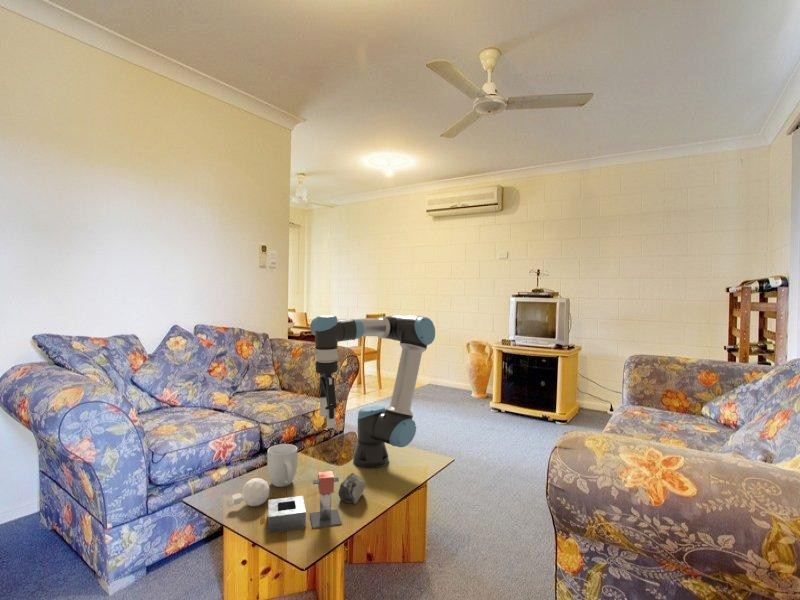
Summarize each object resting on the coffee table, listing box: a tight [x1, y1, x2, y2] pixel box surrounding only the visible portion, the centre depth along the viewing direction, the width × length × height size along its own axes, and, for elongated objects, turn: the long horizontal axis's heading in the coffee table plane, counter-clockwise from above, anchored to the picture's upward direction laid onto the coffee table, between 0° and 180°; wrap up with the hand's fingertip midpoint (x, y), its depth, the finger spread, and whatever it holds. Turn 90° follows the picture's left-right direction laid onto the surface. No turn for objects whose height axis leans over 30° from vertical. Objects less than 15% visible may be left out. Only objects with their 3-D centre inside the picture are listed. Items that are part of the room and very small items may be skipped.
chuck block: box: [267, 495, 307, 534], centre depth 136 cm, size 11×11×5 cm
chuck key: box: [312, 470, 340, 521], centre depth 138 cm, size 8×4×14 cm, turn 107°
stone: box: [337, 472, 367, 504], centre depth 151 cm, size 10×10×10 cm
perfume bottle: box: [231, 477, 270, 507], centre depth 146 cm, size 9×9×12 cm
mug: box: [266, 443, 298, 488], centre depth 161 cm, size 15×11×13 cm
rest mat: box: [309, 509, 342, 530], centre depth 138 cm, size 9×9×1 cm
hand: (327, 421), depth 150 cm, fingers open, 13 cm apart
